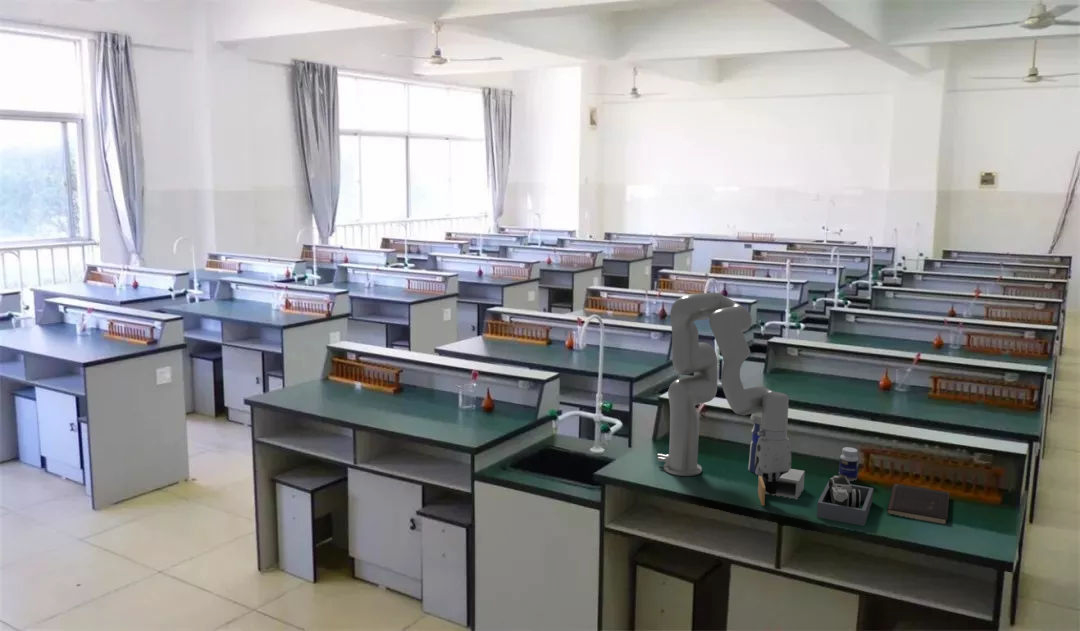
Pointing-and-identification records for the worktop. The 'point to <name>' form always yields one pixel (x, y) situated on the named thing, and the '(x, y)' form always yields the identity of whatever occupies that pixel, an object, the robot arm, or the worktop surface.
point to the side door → (761, 490)
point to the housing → (789, 484)
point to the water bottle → (754, 439)
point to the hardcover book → (919, 503)
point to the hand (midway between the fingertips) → (770, 492)
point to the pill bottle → (849, 464)
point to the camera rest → (845, 507)
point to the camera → (843, 493)
